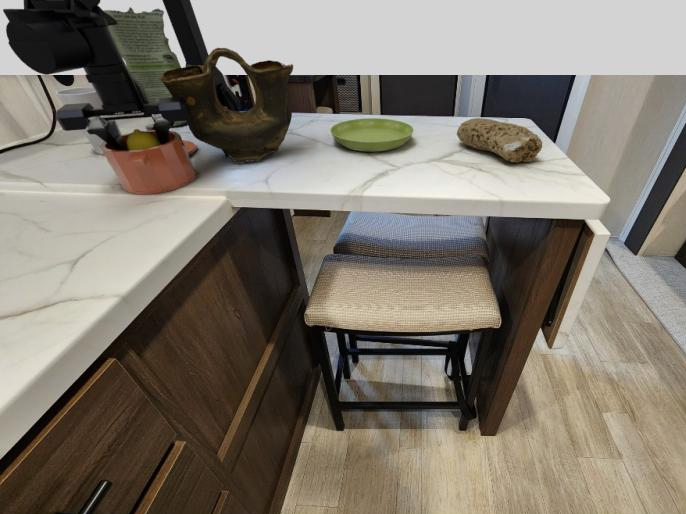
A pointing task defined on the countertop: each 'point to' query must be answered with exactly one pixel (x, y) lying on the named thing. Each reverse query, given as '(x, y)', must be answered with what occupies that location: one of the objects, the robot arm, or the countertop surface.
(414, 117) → the countertop surface
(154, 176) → the pot
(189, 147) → the lid
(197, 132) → the pottery vessel
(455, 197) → the countertop surface
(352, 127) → the saucer
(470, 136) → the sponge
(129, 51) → the pouch
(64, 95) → the cup
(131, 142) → the lemon
